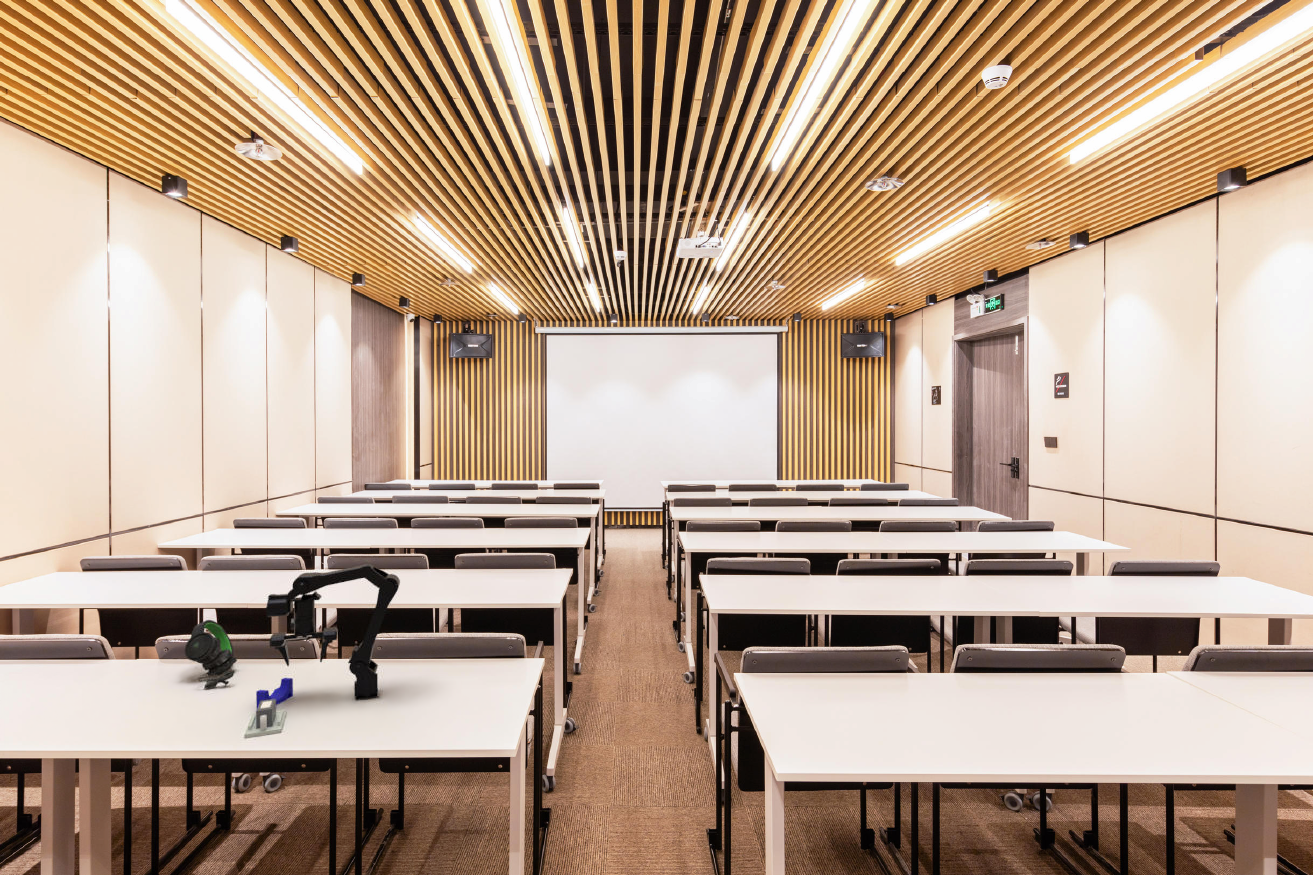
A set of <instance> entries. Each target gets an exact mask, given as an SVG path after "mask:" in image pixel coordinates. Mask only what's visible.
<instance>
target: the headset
mask: <svg viewBox="0 0 1313 875" xmlns="http://www.w3.org/2000/svg"><path fill="white" fill-rule="evenodd" d="M205 630H207V631H208V632H205ZM209 632H210V633H209ZM190 635H191V636H190V638H189V640H187V642H186V644H185V648H184V654H185V656H186V658H187V659H188V660H190V661H192V662H196V663H198V664H202V668H203V669H204V671H206V675H207V676H206V675H205V676H202V677H201V676H200V677H198V678H197V681H198V682H206V684H204V686H203V688H204V689H214V688H216V686H217V685H218V684H221V683H222V684H223V685H224V686H225V687H226V686H227V685H228V684H229V682H230V681H228V680H229V679H231V678H233V676H234V674H235V671H234V670H231V668H232V667H233V665H234V664H235V663H237V661H238V659H237V658H236V657H234V656H235V655H234V648H233V643H232V641H231V639H230V637H229V635H228V634H227V632H226V631H225V629H224V628H223V627H222V626H221V625H220V624H219V623H218V622H216V621H215V620H212V619H206V620H204V621H203V622H202V621H201V622H200V623H198V624H196V625H195V626H194V627H193V629H192V631H191V634H190ZM229 670H230V671H229ZM219 675H221V676H220V677H218V678H209V677H212V676H219ZM205 678H209V679H205ZM201 679H202V680H201ZM203 679H204V680H203Z"/></svg>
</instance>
